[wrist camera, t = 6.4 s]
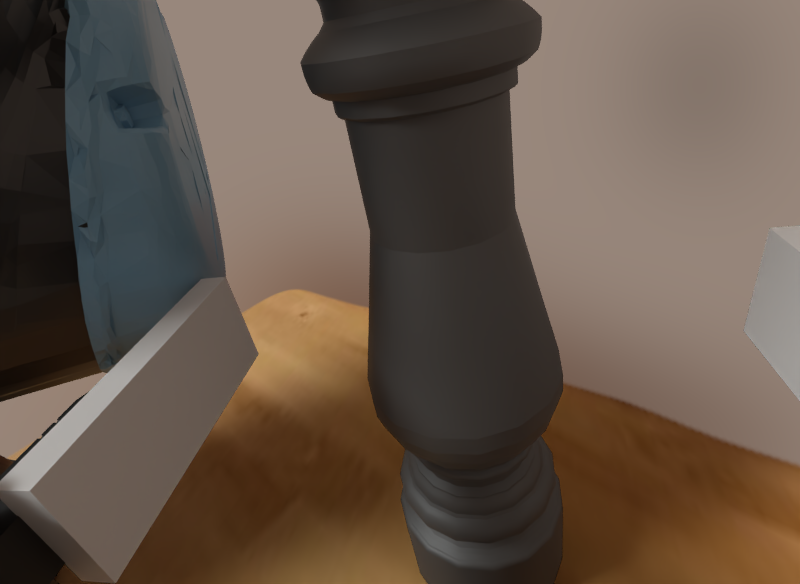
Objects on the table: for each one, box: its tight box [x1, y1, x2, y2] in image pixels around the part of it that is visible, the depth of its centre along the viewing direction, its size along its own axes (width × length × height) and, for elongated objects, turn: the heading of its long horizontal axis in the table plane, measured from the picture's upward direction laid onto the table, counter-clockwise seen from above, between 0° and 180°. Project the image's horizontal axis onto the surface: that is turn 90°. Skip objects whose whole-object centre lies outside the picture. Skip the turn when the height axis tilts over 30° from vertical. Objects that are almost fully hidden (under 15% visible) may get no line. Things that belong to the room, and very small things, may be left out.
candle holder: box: [301, 0, 563, 584], centre depth 13 cm, size 6×6×25 cm
